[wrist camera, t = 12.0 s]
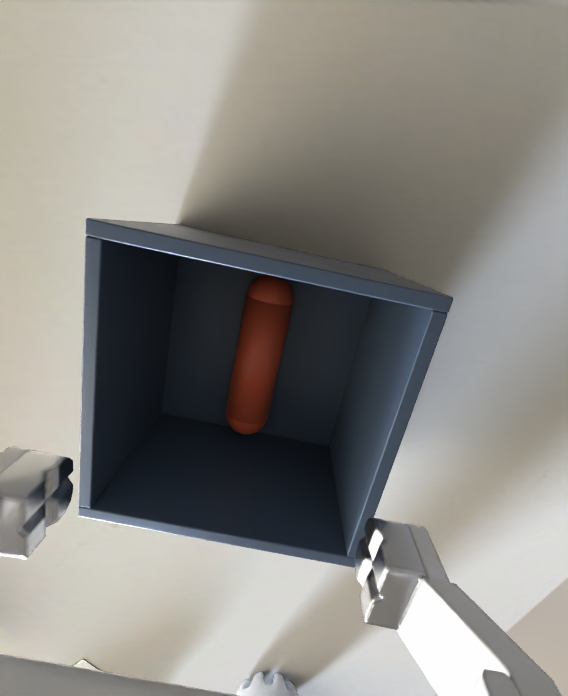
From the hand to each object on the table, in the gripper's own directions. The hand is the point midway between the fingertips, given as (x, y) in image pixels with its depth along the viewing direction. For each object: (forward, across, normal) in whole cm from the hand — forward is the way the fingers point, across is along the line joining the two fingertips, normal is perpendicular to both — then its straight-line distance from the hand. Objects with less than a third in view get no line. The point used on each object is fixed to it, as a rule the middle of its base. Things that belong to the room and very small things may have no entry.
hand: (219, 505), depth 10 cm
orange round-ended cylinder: (+14, 0, 0) cm, 14 cm away
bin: (+14, 0, 0) cm, 14 cm away
